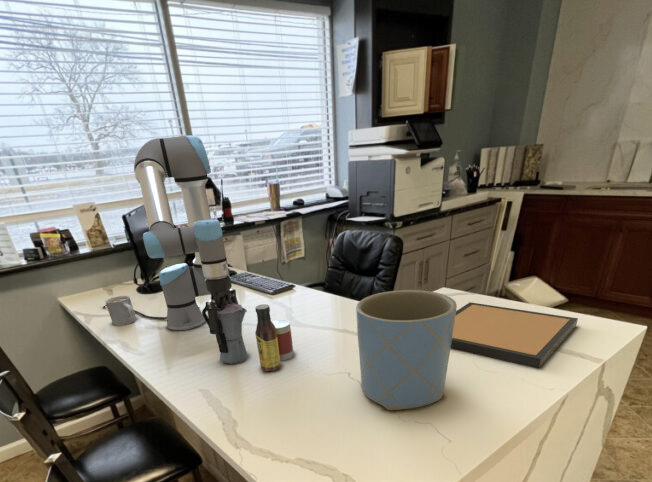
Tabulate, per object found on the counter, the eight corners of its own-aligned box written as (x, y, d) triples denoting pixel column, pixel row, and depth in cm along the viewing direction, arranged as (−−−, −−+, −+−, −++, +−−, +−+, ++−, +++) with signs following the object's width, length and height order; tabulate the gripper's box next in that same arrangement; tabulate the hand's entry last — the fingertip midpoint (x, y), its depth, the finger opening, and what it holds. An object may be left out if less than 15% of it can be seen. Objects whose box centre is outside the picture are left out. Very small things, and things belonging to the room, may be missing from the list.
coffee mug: (109, 322, 181) (101, 300, 175) (131, 315, 186) (124, 294, 181) (121, 328, 172) (113, 305, 167) (143, 321, 177) (136, 299, 172)
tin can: (269, 359, 132) (264, 327, 126) (278, 350, 137) (273, 319, 131) (288, 361, 129) (284, 328, 124) (296, 352, 135) (293, 320, 129)
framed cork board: (538, 368, 111) (575, 326, 132) (541, 358, 109) (578, 318, 130) (421, 341, 133) (468, 309, 154) (421, 333, 131) (469, 302, 152)
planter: (466, 401, 100) (478, 309, 88) (381, 423, 96) (382, 329, 83) (418, 364, 119) (423, 284, 107) (345, 381, 115) (342, 299, 102)
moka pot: (250, 365, 129) (239, 303, 119) (205, 365, 133) (191, 305, 122) (259, 352, 137) (249, 294, 127) (216, 352, 141) (204, 295, 130)
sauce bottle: (261, 364, 129) (251, 303, 119) (280, 362, 129) (272, 301, 119) (261, 374, 123) (250, 310, 113) (281, 371, 123) (273, 308, 113)
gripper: (208, 286, 112) (224, 361, 123) (245, 267, 128) (256, 335, 140) (185, 286, 115) (203, 359, 126) (224, 267, 131) (237, 334, 142)
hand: (231, 346), depth 133 cm, fingers closed on moka pot, 8 cm apart
